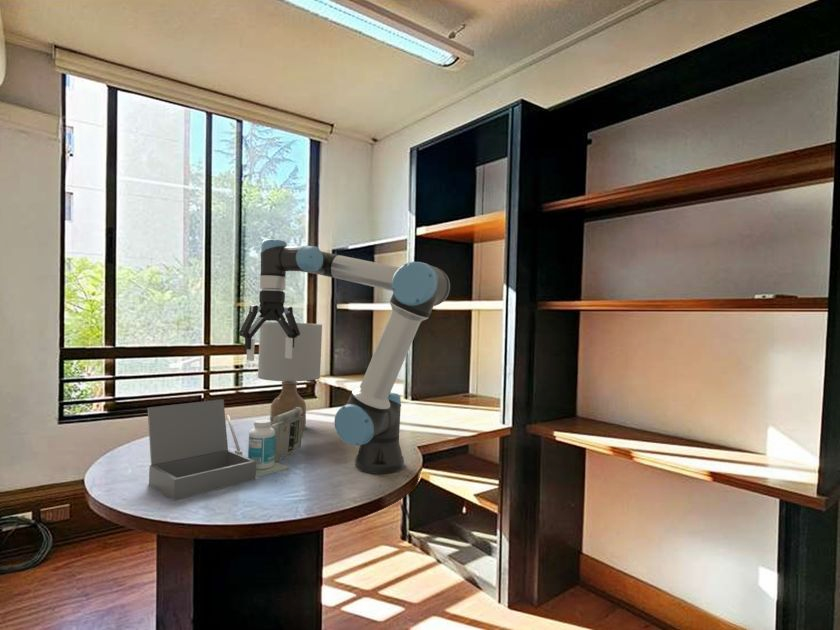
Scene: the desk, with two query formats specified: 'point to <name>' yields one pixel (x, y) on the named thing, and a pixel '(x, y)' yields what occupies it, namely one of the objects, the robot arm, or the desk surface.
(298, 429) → the geiger counter
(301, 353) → the lamp
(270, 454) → the pill bottle
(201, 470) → the case
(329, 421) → the desk surface
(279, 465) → the mat
